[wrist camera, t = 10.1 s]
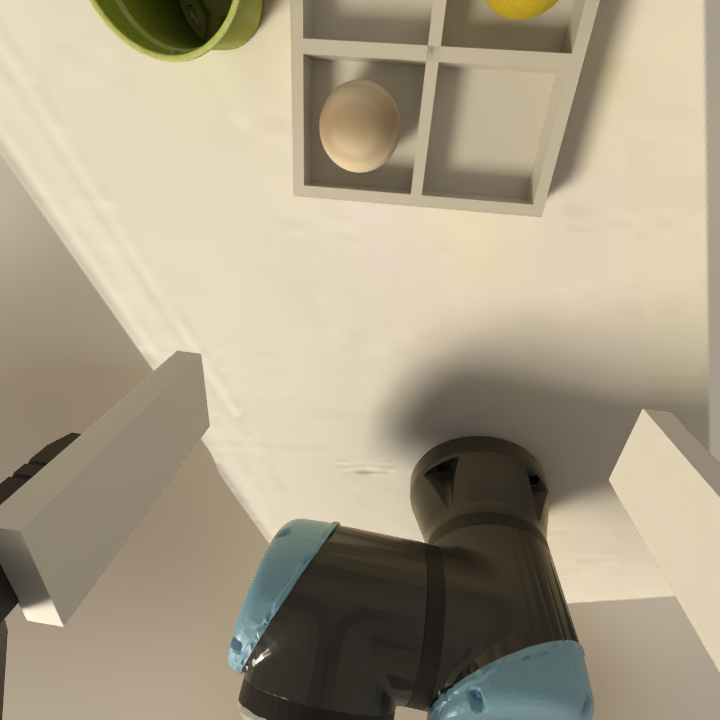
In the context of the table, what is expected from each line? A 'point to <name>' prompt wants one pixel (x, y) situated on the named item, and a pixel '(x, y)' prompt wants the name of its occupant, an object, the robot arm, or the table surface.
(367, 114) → the beige rounded ball
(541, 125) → the tray
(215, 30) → the plant pot
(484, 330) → the table surface
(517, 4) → the lemon
